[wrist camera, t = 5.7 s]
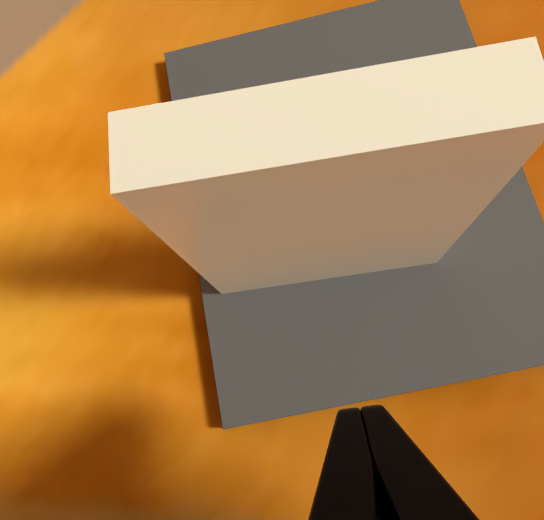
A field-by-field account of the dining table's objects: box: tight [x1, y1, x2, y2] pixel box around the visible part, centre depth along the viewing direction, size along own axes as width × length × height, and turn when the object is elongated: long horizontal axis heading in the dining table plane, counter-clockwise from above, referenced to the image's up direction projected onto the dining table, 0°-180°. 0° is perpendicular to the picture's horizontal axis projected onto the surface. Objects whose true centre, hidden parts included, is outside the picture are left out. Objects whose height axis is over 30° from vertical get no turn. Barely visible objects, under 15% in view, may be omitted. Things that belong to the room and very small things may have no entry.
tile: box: [108, 37, 544, 294], centre depth 12 cm, size 2×8×9 cm, turn 97°
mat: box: [164, 0, 544, 429], centre depth 18 cm, size 15×12×1 cm
